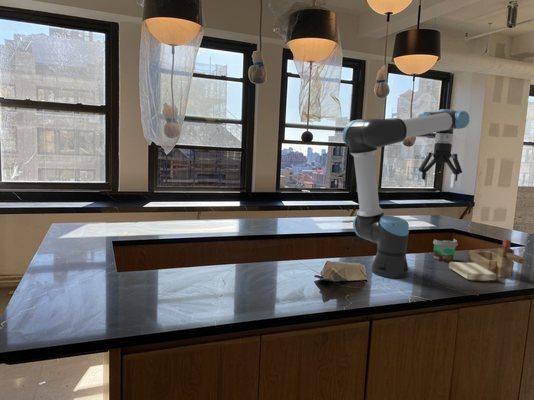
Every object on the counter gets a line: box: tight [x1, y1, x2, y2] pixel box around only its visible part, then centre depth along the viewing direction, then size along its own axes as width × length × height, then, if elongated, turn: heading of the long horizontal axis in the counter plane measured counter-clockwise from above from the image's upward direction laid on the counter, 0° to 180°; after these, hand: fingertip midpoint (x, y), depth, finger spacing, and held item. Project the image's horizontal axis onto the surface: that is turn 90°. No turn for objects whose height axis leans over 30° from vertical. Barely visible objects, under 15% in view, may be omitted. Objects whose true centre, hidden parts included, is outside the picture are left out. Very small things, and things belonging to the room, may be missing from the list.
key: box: [501, 239, 527, 265], centre depth 162 cm, size 2×12×7 cm, turn 2°
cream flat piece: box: [448, 261, 497, 282], centre depth 167 cm, size 12×15×4 cm
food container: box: [432, 238, 458, 263], centre depth 186 cm, size 12×6×10 cm, turn 105°
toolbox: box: [467, 247, 515, 279], centre depth 175 cm, size 11×20×12 cm, turn 2°
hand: (438, 187), depth 188 cm, fingers open, 13 cm apart
